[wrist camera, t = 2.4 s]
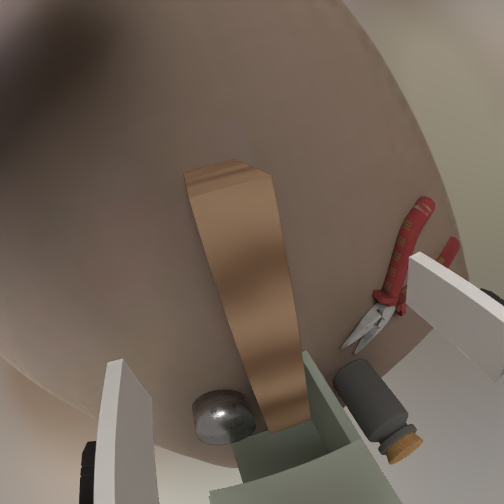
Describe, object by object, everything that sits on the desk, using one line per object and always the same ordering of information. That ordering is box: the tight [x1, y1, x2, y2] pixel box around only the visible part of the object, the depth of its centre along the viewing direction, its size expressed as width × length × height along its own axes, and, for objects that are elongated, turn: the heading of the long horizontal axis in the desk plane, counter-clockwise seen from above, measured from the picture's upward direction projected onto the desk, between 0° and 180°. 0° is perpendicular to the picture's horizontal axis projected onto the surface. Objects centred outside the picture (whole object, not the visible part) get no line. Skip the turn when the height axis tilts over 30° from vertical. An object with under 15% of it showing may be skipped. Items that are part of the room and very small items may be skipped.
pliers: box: [341, 197, 460, 355], centre depth 31 cm, size 12×20×3 cm, turn 144°
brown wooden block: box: [184, 159, 311, 435], centre depth 22 cm, size 22×4×9 cm, turn 12°
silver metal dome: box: [192, 390, 256, 445], centre depth 30 cm, size 7×7×4 cm
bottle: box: [333, 359, 423, 464], centre depth 29 cm, size 6×6×15 cm
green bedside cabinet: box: [209, 350, 402, 504], centre depth 23 cm, size 16×16×24 cm
